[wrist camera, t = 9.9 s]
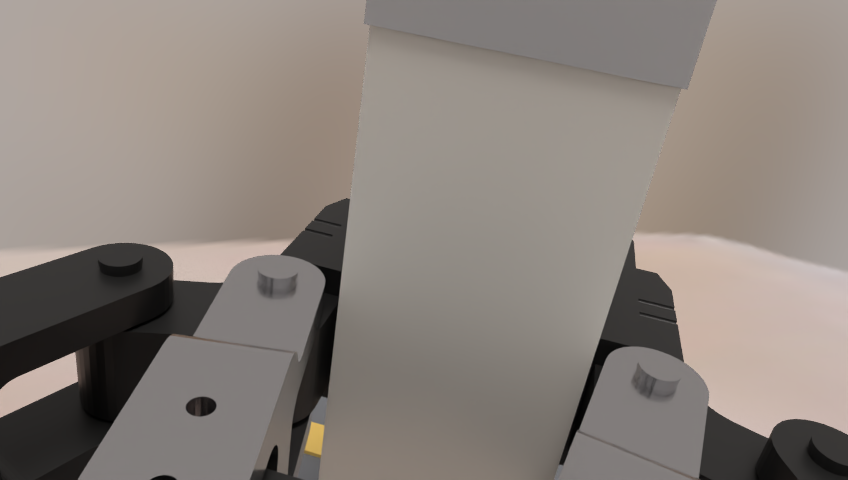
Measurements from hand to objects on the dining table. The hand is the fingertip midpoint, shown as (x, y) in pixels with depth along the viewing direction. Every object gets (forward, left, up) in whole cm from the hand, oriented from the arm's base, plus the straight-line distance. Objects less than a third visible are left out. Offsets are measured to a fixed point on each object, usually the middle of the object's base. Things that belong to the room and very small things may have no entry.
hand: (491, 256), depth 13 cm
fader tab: (-2, -2, -7) cm, 7 cm away
